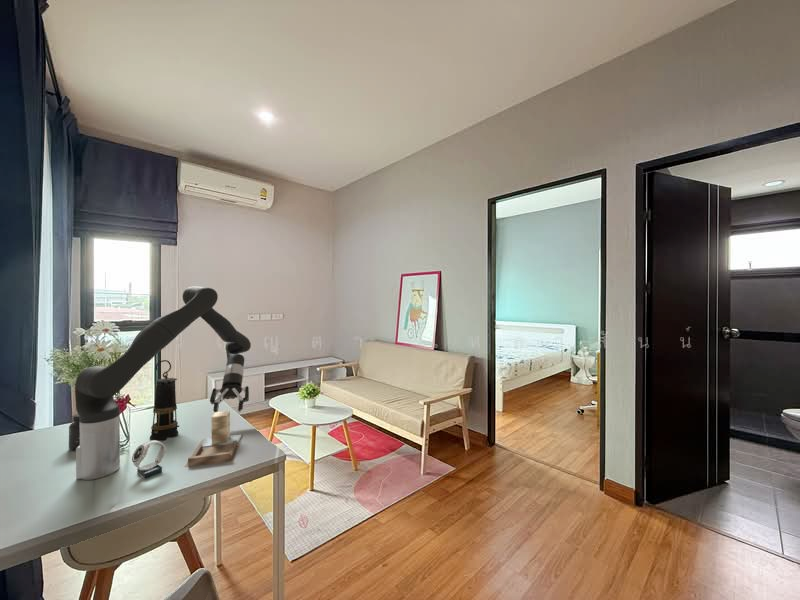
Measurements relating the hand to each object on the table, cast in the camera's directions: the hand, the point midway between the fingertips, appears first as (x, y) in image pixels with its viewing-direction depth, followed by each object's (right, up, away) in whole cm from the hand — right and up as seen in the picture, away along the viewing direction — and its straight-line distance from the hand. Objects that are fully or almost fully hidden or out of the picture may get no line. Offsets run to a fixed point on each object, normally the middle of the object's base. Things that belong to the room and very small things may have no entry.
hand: (227, 411), depth 131 cm
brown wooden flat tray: (+5, -9, -17) cm, 20 cm away
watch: (-7, -9, -32) cm, 34 cm away
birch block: (+3, -7, -11) cm, 13 cm away
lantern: (-23, -9, -4) cm, 25 cm away
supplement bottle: (-46, -9, -13) cm, 49 cm away
